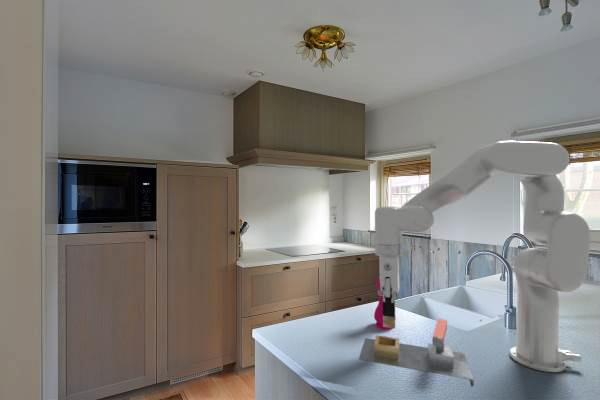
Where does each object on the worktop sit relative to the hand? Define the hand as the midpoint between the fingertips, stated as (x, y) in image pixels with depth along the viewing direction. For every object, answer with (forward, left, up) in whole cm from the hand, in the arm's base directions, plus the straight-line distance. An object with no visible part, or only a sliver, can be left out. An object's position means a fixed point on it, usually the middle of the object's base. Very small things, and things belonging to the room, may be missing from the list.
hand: (389, 312), depth 91 cm
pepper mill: (+2, -19, -13) cm, 23 cm away
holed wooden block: (0, 0, -11) cm, 11 cm away
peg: (0, 0, -4) cm, 4 cm away
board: (-7, 0, -13) cm, 14 cm away
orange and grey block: (-13, +1, -8) cm, 16 cm away
